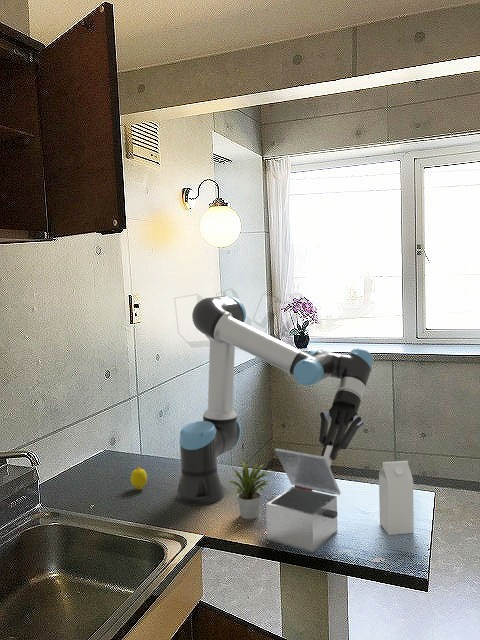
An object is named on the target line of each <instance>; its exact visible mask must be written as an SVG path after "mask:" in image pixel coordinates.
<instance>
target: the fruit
mask: <svg viewBox="0 0 480 640" xmlns="http://www.w3.org/2000/svg"><path fill="white" fill-rule="evenodd" d="M130 475H131V476H130V483H131V485H132V486H133V487H134V488H136V489H137V490H138V491H139V490H142V488H143V487H144V486H146V484H147V481H148V474H147V472H146V471H145V469H143V468H141V467H140V466H137V468H135V469H133V471H132V472H131V474H130Z"/></svg>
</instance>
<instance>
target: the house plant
mask: <svg viewBox="0 0 480 640" xmlns="http://www.w3.org/2000/svg"><path fill="white" fill-rule="evenodd" d="M247 463H248V462H247V461H243V462H242V470H240V469H239V471H240V472H241V473H242V476H241V474H240V473H239V472H238V470H237V469H236V468H234V467H232V470H233V472H234V473H233V474H231V475H232V476H233V477H237V478H238V479H237V481H238V482H239V483H238V482H237V481H235V480H229V481H228V483H229V484H232V485H236V486H237V487H238V488H236V495H237V498H236V499H237V501H238V507H239V511H240V515H241V518H242V519H243V520H244V519H245V520H253V519H254V520H255V519H257V518H258V517H259V513H260V505H261V499H262V498H261V497H262V495H261V493H260V492H258V490H260V491H262V492H263V493H265V492H264V488H263V487H264V486H267V485H268V486H270V484H269V483H268V480H265V479H262V480H261V478H263V477H266V476H270V475H273V473H268V471H271V469H267V470H264V471H262V472H261V469H262V467H263V466H264V465H265V463H262V464H261V465H259V461H257V462H256V464H254V467H253V468H252V470H251V472H250V473H249V468H248V464H247ZM258 465H259V466H258ZM257 466H258V468H257ZM273 470H274V471H275V469H272V471H273ZM234 474H236V475H234Z"/></svg>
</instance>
